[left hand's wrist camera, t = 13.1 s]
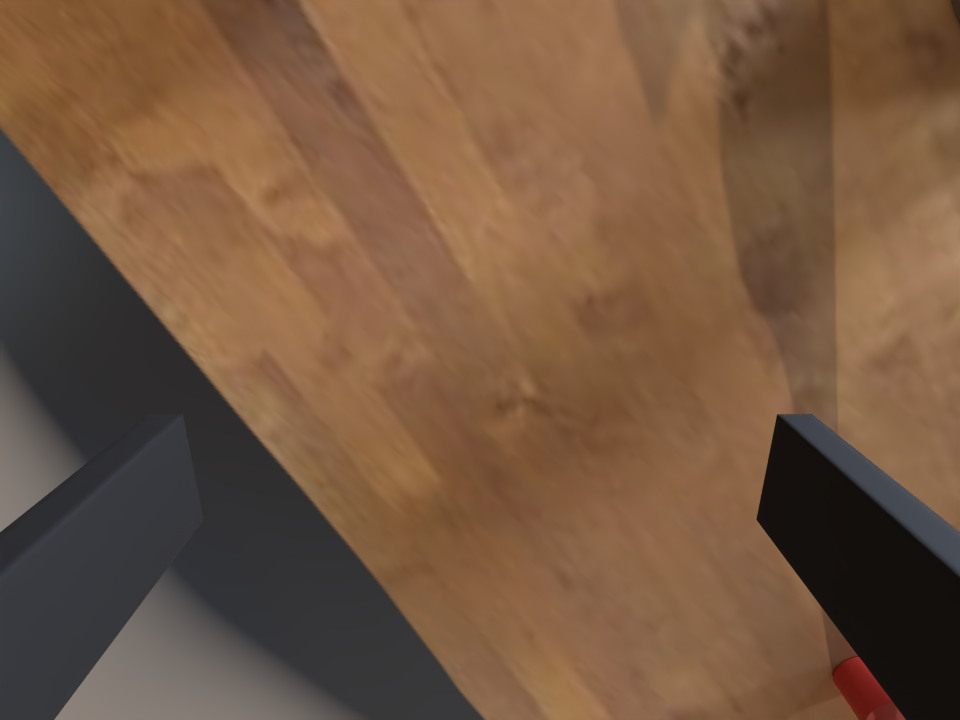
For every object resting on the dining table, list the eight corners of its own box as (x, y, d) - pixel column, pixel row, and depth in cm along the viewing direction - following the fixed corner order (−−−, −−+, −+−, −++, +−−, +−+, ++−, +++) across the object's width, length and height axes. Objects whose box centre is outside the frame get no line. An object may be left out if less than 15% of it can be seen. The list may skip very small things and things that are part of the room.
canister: (827, 666, 52) (859, 712, 48) (873, 649, 51) (909, 695, 47) (839, 696, 53) (871, 744, 49) (885, 680, 53) (921, 728, 48)
